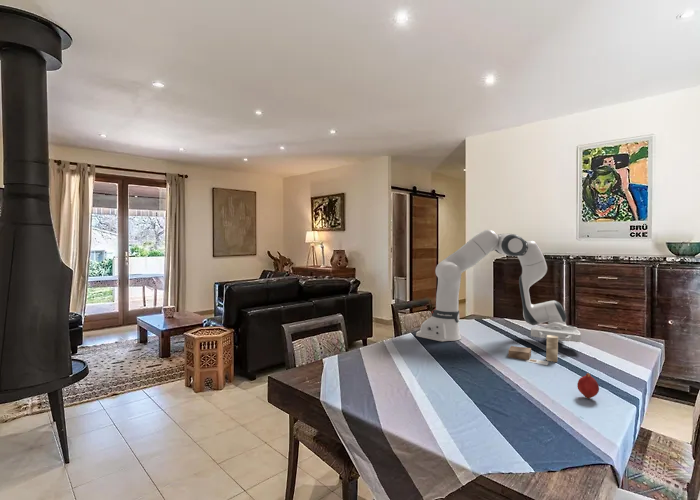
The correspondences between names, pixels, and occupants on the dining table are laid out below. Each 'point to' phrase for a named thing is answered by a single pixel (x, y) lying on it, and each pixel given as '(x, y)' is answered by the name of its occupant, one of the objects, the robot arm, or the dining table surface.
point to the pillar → (552, 348)
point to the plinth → (519, 352)
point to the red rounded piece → (588, 386)
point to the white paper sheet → (537, 361)
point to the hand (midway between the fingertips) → (554, 337)
